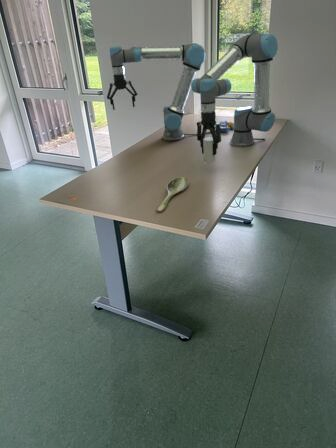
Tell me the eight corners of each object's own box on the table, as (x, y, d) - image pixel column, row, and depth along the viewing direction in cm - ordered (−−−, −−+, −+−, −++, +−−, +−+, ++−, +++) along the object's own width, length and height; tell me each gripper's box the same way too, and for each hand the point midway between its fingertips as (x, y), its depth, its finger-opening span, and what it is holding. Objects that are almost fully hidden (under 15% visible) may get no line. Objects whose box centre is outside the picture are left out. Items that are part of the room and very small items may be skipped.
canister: (201, 161, 187) (200, 139, 181) (207, 157, 191) (207, 136, 185) (210, 163, 184) (210, 141, 177) (217, 159, 188) (216, 137, 181)
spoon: (170, 216, 152) (169, 212, 151) (148, 213, 156) (148, 209, 155) (192, 180, 179) (192, 176, 178) (173, 178, 182) (173, 175, 181)
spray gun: (238, 125, 262) (220, 124, 268) (238, 119, 260) (220, 119, 266) (230, 133, 247) (211, 133, 253) (230, 128, 244) (211, 127, 251)
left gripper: (100, 76, 208) (106, 111, 219) (139, 72, 213) (143, 106, 224) (98, 75, 214) (104, 109, 225) (136, 71, 219) (140, 104, 230)
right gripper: (188, 111, 176) (190, 153, 188) (221, 114, 166) (221, 158, 178) (196, 108, 181) (197, 149, 193) (228, 110, 171) (228, 153, 183)
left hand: (123, 108), depth 224 cm, fingers open, 13 cm apart
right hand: (209, 153), depth 185 cm, fingers closed on canister, 6 cm apart
